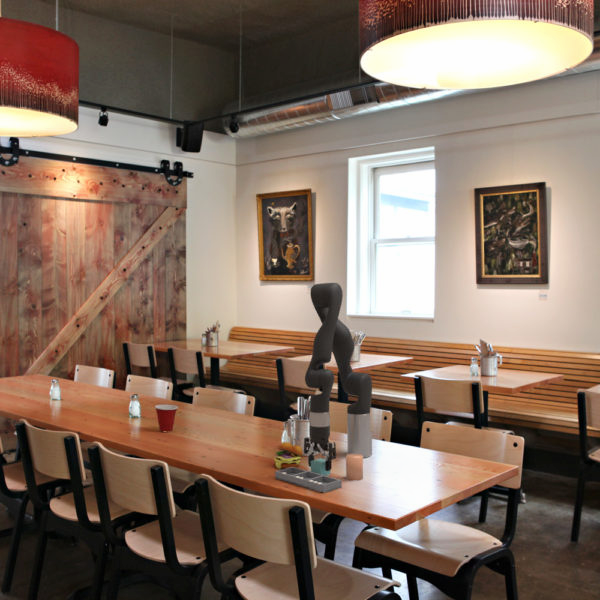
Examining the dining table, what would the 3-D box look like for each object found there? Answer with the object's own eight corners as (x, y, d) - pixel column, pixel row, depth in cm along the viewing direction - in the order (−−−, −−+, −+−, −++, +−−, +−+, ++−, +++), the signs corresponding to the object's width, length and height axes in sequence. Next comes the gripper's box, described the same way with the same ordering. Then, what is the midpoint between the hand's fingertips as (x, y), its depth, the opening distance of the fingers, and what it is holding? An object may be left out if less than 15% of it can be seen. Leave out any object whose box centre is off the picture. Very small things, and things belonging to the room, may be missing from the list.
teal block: (320, 471, 254) (320, 458, 254) (330, 474, 250) (330, 460, 250) (310, 474, 250) (310, 460, 250) (320, 477, 247) (320, 463, 247)
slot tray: (292, 473, 251) (292, 466, 251) (341, 487, 234) (341, 479, 234) (274, 478, 245) (274, 470, 245) (323, 493, 228) (323, 485, 228)
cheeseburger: (267, 466, 262) (271, 439, 263) (286, 467, 269) (290, 441, 270) (285, 470, 254) (289, 443, 256) (305, 472, 262) (309, 445, 263)
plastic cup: (175, 433, 320) (175, 407, 320) (152, 433, 320) (152, 408, 320) (180, 428, 331) (180, 403, 331) (158, 428, 331) (157, 403, 331)
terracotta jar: (353, 474, 249) (353, 452, 249) (366, 478, 245) (366, 455, 245) (342, 478, 245) (342, 455, 245) (355, 481, 241) (355, 458, 241)
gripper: (341, 425, 247) (341, 470, 248) (313, 419, 258) (313, 463, 258) (326, 428, 242) (326, 474, 242) (298, 422, 252) (298, 466, 253)
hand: (319, 468), depth 250 cm, fingers open, 8 cm apart
